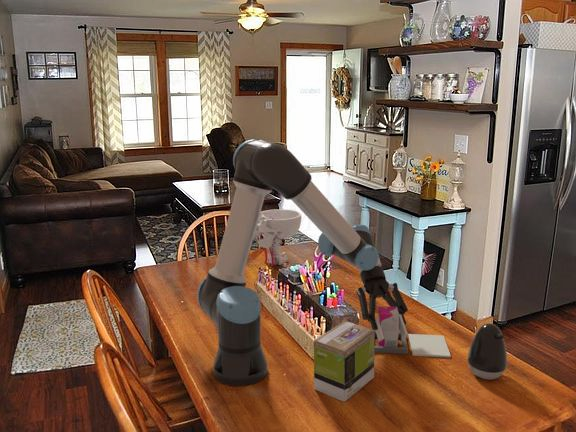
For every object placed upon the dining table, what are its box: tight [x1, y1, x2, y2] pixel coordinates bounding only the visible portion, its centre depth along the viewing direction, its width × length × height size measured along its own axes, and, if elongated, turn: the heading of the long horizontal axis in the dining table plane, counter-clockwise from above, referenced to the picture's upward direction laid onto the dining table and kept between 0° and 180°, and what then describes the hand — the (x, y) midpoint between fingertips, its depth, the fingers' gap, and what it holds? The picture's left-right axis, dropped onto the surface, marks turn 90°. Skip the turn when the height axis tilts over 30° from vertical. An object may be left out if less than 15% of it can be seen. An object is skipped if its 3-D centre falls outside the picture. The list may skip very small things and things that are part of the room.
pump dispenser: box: [467, 322, 508, 381], centre depth 145 cm, size 10×10×15 cm
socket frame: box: [374, 331, 409, 355], centre depth 164 cm, size 11×11×2 cm
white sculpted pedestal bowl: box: [253, 208, 303, 268], centre depth 233 cm, size 25×19×23 cm
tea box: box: [313, 320, 376, 402], centre depth 141 cm, size 15×10×15 cm, turn 141°
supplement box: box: [377, 305, 399, 347], centre depth 163 cm, size 6×6×12 cm
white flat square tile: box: [407, 333, 452, 359], centre depth 163 cm, size 13×11×1 cm
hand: (393, 337), depth 161 cm, fingers closed on supplement box, 7 cm apart
